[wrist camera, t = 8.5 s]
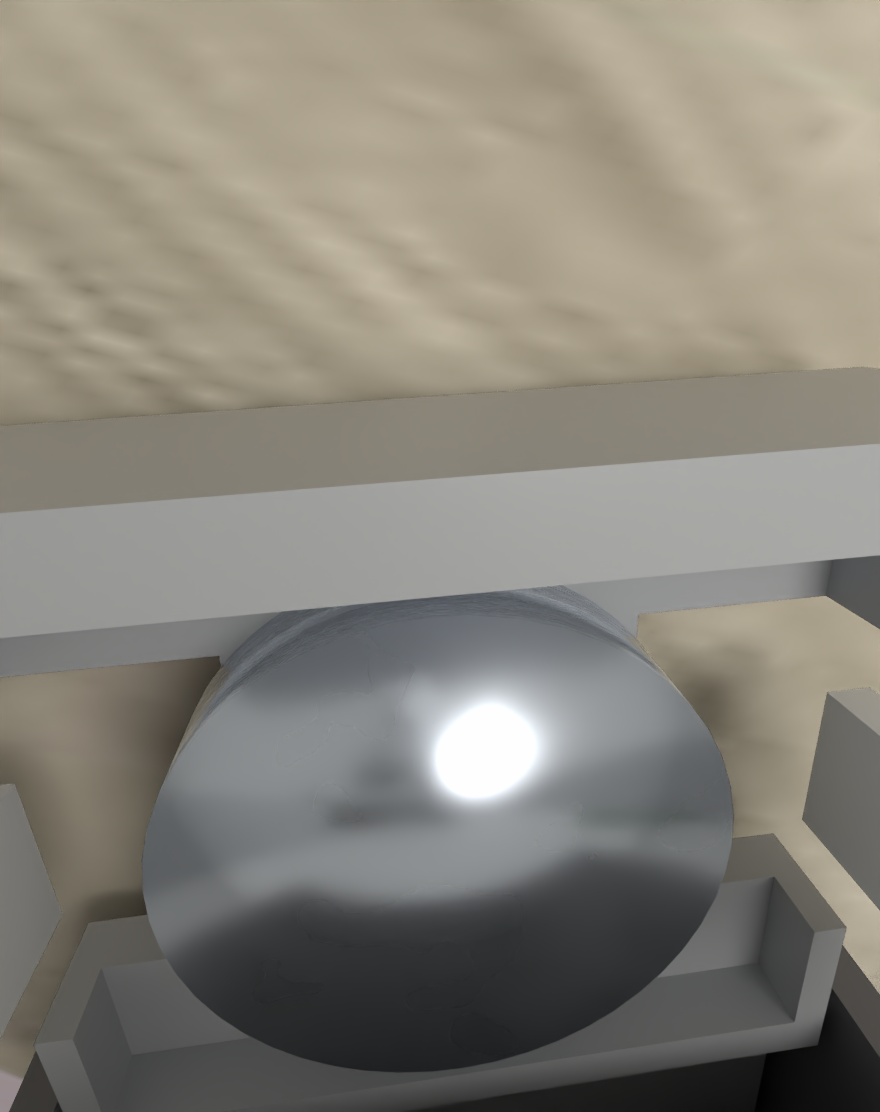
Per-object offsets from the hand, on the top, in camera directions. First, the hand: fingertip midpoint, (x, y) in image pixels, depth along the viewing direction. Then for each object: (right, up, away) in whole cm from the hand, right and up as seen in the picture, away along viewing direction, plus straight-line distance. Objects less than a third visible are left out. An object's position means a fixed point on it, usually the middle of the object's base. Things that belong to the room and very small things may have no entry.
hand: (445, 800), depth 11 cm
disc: (0, 0, 0) cm, 0 cm away
